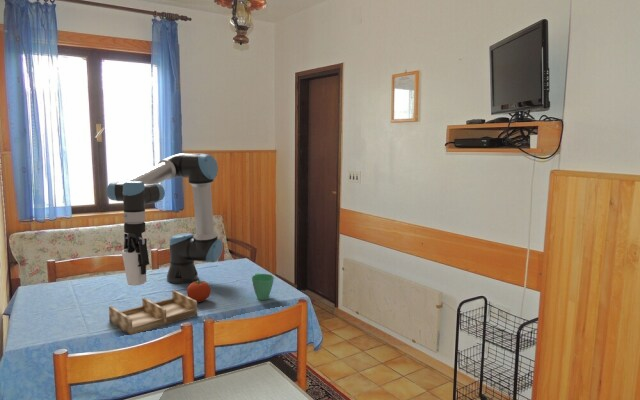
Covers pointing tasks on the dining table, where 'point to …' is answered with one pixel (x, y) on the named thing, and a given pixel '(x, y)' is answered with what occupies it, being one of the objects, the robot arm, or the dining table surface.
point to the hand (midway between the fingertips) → (136, 279)
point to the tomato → (198, 291)
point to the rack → (153, 313)
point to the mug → (262, 285)
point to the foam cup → (131, 267)
